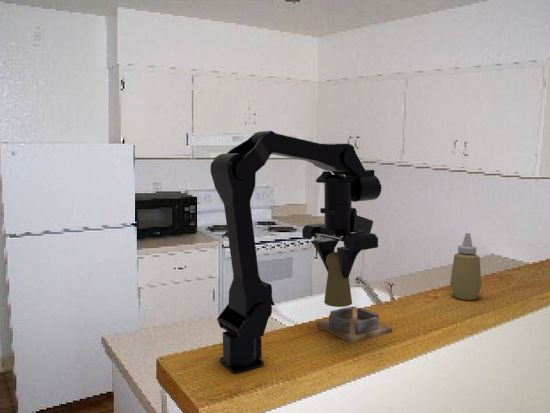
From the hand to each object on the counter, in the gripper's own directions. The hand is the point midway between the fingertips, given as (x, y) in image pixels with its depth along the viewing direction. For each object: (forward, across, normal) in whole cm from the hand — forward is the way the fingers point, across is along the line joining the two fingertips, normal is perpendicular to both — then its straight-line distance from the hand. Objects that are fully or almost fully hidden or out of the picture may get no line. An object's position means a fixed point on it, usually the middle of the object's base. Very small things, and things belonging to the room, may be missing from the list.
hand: (338, 275), depth 99 cm
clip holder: (+14, +1, -6) cm, 15 cm away
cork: (+6, 0, 0) cm, 6 cm away
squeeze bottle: (+15, +2, -48) cm, 50 cm away
